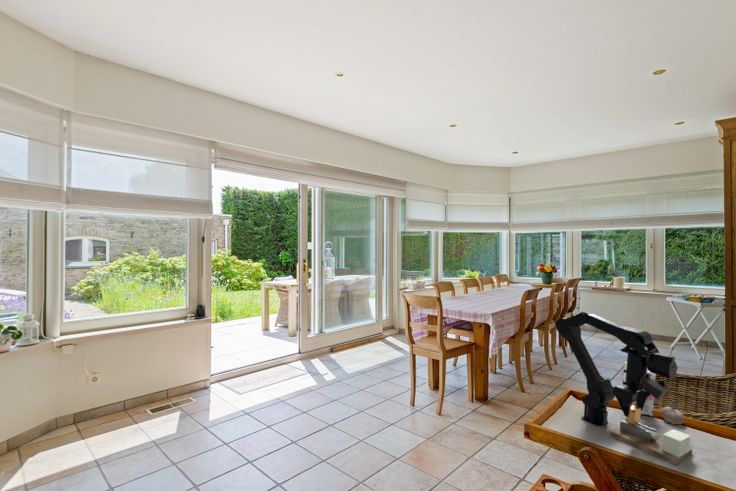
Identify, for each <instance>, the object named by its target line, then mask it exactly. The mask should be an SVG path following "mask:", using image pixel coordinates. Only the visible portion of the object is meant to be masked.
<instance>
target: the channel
mask: <svg viewBox="0 0 736 491" xmlns="http://www.w3.org/2000/svg"><path fill="white" fill-rule="evenodd" d="M638 425H639V426H641V427H644V428H646V429H649V430H651V431H654V432H656V433H657V430H656V428H652V427H649V426H648V425H644V424H643V423H640V422H639V423H638ZM619 426H620V430H622V431H624V432H626V433H629V434H631V435H633V436H636V437H638V438H640V439H643V440H645V441H647V442H652V441H654V440H653V439H651V432H648V431H646V430H643V429H641V428H639V427H636V426H634V425H631V424H629V423H626V422H624V421H622V420H620V421H619Z"/></svg>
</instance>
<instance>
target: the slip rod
mask: <svg viewBox="0 0 736 491" xmlns="http://www.w3.org/2000/svg"><path fill="white" fill-rule="evenodd" d="M640 414H641V408H639V407H637V406H634V405H632V406H631V409H630V413H629V416H628V417H625V419H622V420H621V421H624V422H626V423H629V424H631V425H634V426H636V427H639V428H641V429H643V430H646V431H648V432H651V439H653V440H657V439H658V436H659V433H658V432H657V431H656V432H654V431H651V430H649V429H646V428H644V427H641V426H639V425H638V423H640V422H641V415H640Z"/></svg>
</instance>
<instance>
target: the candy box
mask: <svg viewBox="0 0 736 491" xmlns="http://www.w3.org/2000/svg"><path fill="white" fill-rule="evenodd" d="M626 368H627V361H624V362H623V370H624V369H626ZM647 372H649V374H650V378H651V379H653V380H656V381H657V374H654V373H651V372H650V371H649V370H648V368H647ZM622 374H623V377H622V382H623V381H625V380H626V373H625V372H624V371H623V373H622ZM622 385H623V386H626V387H627V385H624V384H623V383H622ZM632 405H634V406H637V405H636V401H635V402H633V403H632ZM654 406H655V398H654V397H653V396H652V395H650V396H649V397H648V398H647V401H646V403H645V405H644V407H643V409H642V411H641V414H640V416H647V417H648V416H649V417H654V412H655V411H654V409H655V407H654Z"/></svg>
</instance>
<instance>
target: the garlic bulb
mask: <svg viewBox="0 0 736 491" xmlns="http://www.w3.org/2000/svg"><path fill="white" fill-rule="evenodd" d="M676 402H677V400H674V399H672V400H671V406H664V407H662V409H661V416H662V417H663V419H664V421H665V422H668V423H671V424H673V425H682V424H683V423H684V421H685V416H684V414H683V413H682V412H681V411H680V410H678V409H676Z"/></svg>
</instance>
